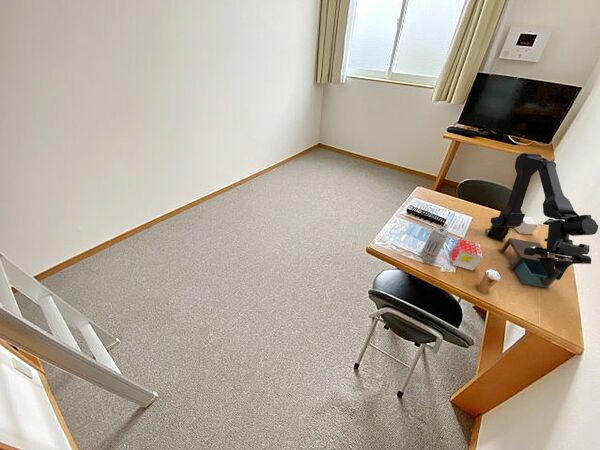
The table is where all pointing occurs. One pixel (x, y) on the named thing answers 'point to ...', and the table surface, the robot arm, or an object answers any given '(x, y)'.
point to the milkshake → (488, 280)
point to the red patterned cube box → (466, 254)
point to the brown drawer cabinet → (521, 251)
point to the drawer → (534, 273)
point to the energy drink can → (434, 244)
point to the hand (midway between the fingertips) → (554, 279)
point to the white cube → (527, 226)
